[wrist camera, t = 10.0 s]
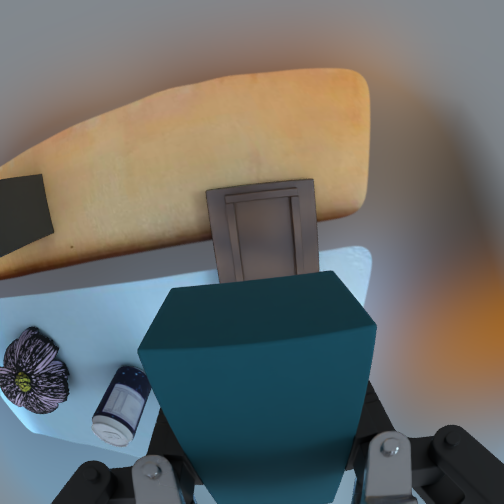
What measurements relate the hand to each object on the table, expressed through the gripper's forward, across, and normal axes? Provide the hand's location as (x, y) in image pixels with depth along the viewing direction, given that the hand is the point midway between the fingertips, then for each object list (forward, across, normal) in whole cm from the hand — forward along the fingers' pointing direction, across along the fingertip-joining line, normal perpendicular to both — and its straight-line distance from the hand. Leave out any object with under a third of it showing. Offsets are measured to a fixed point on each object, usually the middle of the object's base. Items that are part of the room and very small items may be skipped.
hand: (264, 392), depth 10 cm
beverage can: (+22, +19, +18) cm, 34 cm away
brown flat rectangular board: (+21, -2, +5) cm, 22 cm away
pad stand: (+21, +31, -8) cm, 39 cm away
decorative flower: (+22, +38, +16) cm, 47 cm away
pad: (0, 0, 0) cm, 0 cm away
